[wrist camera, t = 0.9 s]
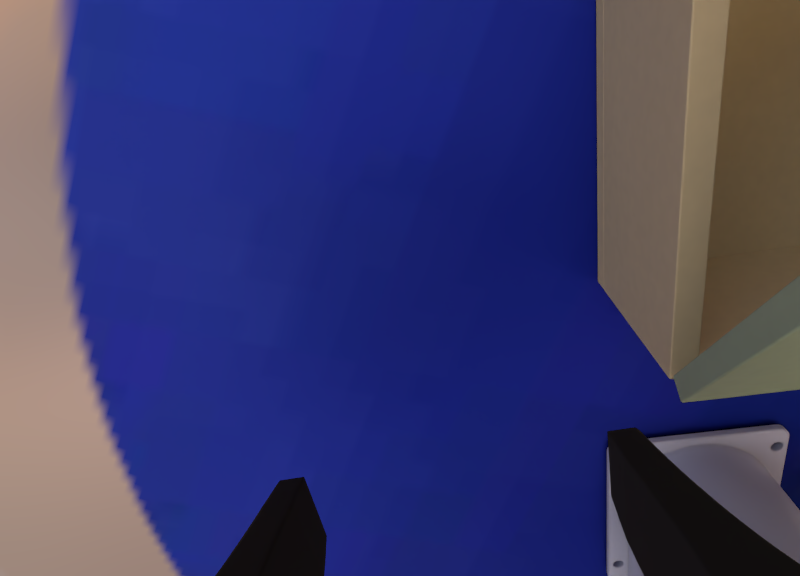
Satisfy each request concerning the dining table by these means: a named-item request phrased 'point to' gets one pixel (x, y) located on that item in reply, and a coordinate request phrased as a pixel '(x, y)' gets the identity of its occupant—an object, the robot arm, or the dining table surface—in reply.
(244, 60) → the dining table surface
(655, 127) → the wooden box
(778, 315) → the lid
